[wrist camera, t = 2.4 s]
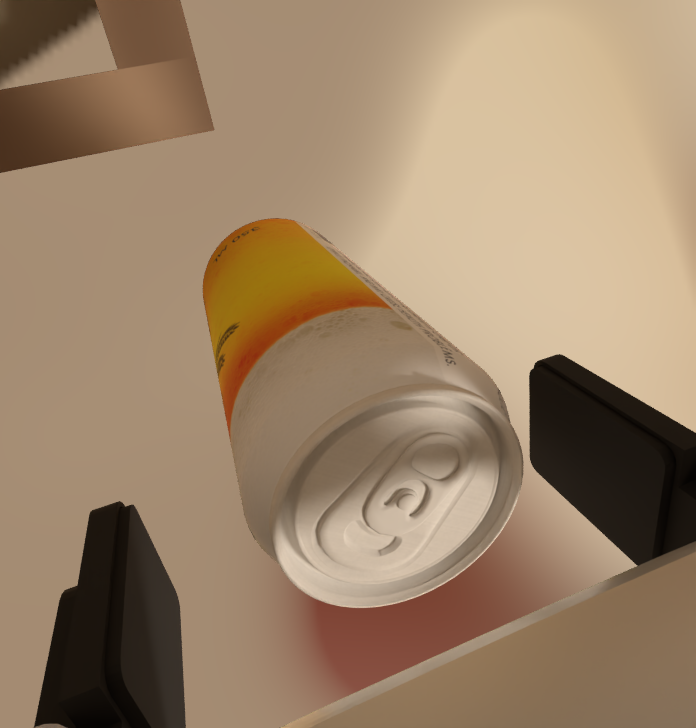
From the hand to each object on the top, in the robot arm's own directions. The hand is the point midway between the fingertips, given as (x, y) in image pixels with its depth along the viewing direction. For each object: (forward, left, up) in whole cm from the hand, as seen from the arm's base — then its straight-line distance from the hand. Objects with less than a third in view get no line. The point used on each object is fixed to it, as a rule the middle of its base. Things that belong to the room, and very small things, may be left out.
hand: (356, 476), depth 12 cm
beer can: (-1, 0, -14) cm, 14 cm away
